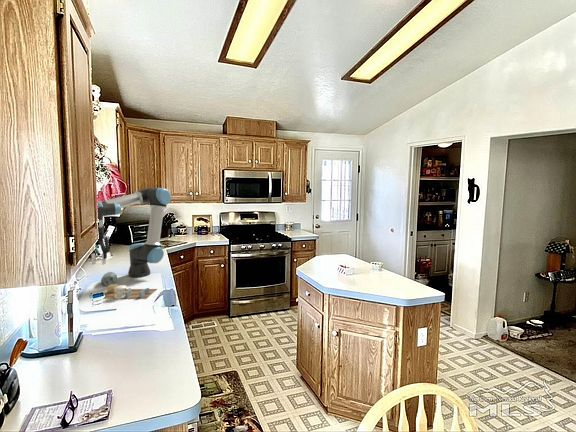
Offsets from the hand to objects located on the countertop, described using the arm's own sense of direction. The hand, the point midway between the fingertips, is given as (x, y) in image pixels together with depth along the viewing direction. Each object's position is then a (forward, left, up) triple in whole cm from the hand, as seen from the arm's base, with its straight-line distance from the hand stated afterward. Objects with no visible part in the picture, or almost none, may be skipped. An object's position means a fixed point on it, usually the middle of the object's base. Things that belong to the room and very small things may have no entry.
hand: (99, 263), depth 216 cm
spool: (-17, -4, -19) cm, 26 cm away
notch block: (+7, +26, -18) cm, 32 cm away
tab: (0, +7, -18) cm, 19 cm away
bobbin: (+10, +17, -18) cm, 26 cm away
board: (+4, +19, -19) cm, 27 cm away
